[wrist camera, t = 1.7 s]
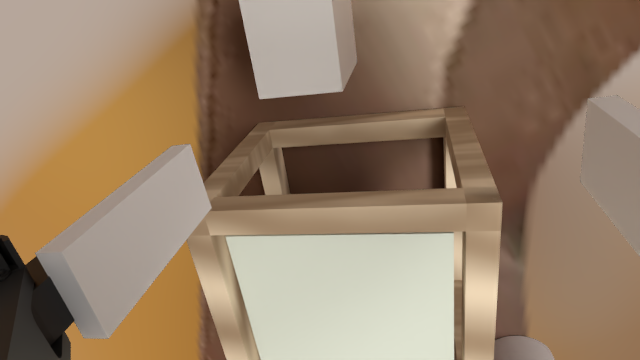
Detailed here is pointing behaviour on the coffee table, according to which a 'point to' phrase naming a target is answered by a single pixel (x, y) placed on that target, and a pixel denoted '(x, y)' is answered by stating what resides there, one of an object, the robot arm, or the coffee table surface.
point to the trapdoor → (348, 294)
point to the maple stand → (356, 215)
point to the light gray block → (299, 45)
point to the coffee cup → (520, 349)
